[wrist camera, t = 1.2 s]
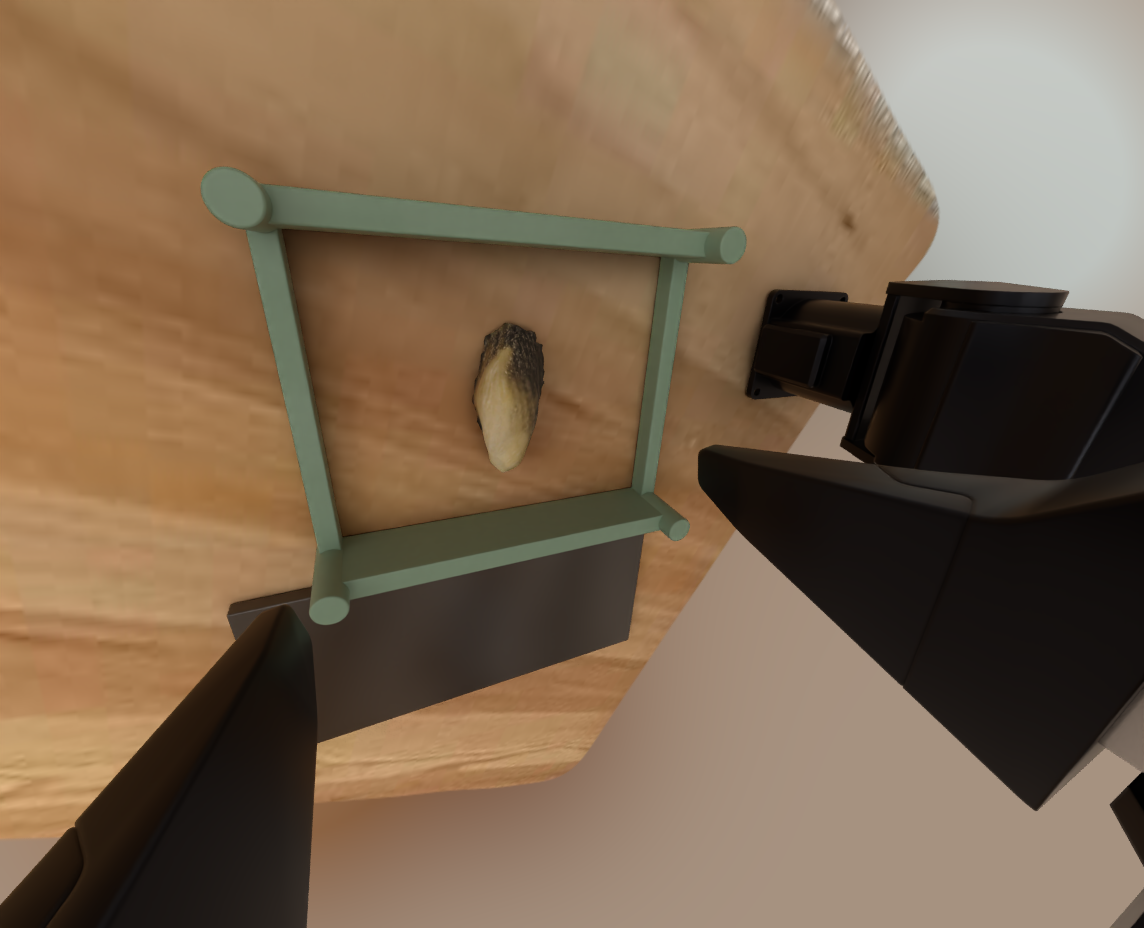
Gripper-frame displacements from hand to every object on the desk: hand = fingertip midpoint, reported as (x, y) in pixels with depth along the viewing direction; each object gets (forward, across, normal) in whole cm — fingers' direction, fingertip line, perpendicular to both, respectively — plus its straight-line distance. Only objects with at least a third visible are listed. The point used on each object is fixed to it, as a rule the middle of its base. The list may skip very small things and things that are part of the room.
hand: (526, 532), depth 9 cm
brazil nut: (+13, -3, +1) cm, 13 cm away
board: (+13, +2, +15) cm, 20 cm away
